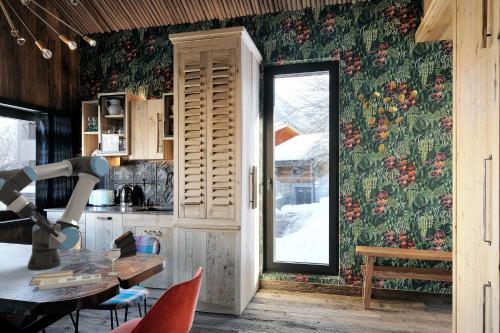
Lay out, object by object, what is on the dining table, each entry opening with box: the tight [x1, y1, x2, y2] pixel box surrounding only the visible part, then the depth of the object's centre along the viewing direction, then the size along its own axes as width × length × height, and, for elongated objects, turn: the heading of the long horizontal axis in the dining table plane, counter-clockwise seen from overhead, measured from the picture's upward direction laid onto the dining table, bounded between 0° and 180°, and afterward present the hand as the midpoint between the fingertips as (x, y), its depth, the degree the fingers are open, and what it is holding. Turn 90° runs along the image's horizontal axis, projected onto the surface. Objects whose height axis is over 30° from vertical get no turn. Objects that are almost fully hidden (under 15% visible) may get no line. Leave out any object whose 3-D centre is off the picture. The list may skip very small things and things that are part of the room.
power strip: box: [38, 273, 102, 291], centre depth 148 cm, size 7×24×3 cm, turn 117°
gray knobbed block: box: [49, 222, 60, 249], centre depth 156 cm, size 4×4×11 cm
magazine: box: [113, 230, 138, 259], centre depth 200 cm, size 4×13×15 cm, turn 139°
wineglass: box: [105, 247, 121, 276], centre depth 165 cm, size 7×7×12 cm
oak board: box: [30, 269, 74, 287], centre depth 156 cm, size 16×16×1 cm
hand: (63, 239), depth 158 cm, fingers closed on gray knobbed block, 4 cm apart
